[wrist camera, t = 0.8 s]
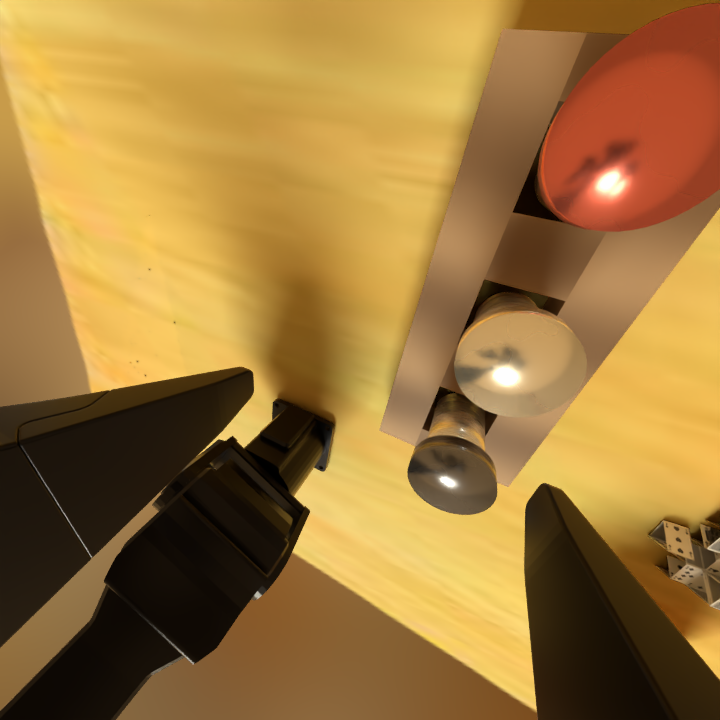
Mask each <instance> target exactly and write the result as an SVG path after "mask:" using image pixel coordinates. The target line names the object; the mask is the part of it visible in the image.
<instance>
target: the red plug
mask: <svg viewBox="0 0 720 720" xmlns="http://www.w3.org/2000/svg"><path fill="white" fill-rule="evenodd" d="M719 189H720V3H712V4H703V5H698V6H693V7H688V8H685V9H682V10H679V11H676V12H673V13H670V14H668V15H665V16H663V17H661V18H659V19H656V20H654V21H652V22H650V23H648V24H647V25H645V26H643V27H641V28H640V29H638V30H636V31H635V32H633V33H632V34H630V35H629V36H627V37H626V38H625V39H623V40H622V41H620V42H619V43H618V44H616V45H615V46H614V47H613V48H612V49H610V50H609V51H608V52H607V53H606V54H604V55H603V56H602V57H601V58H600V59H599V60H598V61H597V62H596V63H595V64H594V65H593V66H592V67H591V68H590V69H589V70H588V72H587V73H586V74H585V75H584V76H583V77H582V79H581V80H580V81H579V82H578V83H577V85H576V86H575V88H574V89H573V90H572V92H571V93H570V94H569V96H568V97H567V99H566V100H565V102H564V104H563V105H562V107H561V108H560V110H559V111H558V113H557V115H556V116H555V118H554V120H553V121H552V123H551V125H550V127H549V130H548V132H547V134H546V136H545V139H544V142H543V145H542V148H541V152H540V157H539V164H538V169H537V172H536V177H535V192H536V195H537V198H538V200H539V202H540V203H541V204H542V205H543V206H544V207H545V208H546V209H548V210H549V211H551V212H552V213H554V214H555V215H556V216H557V217H558V218H559V219H561V220H562V221H564V222H565V223H567V224H570V225H572V226H574V227H578V228H581V229H586V230H594V231H606V232H620V231H630V230H635V229H640V228H645V227H648V226H652V225H655V224H658V223H661V222H664V221H666V220H668V219H671V218H673V217H676V216H678V215H680V214H682V213H683V212H685V211H687V210H689V209H691V208H693V207H694V206H696V205H698V204H699V203H701V202H702V201H704V200H706V199H707V198H708V197H710V196H711V195H712V194H714V193H715V192H716V191H718V190H719Z"/></svg>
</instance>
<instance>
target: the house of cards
mask: <svg viewBox="0 0 720 720" xmlns="http://www.w3.org/2000/svg"><path fill="white" fill-rule="evenodd" d="M706 521H708V520H706ZM660 522H661V521H660ZM708 522H710V523H712V524H714V525H716V526H718V527H720V524H717V523H714V522H711V521H708ZM700 529H701V533H702V538H703V542H702V541H699V540H696V539H693V538H691V536H690V531H689V528H686V527H683V526H680V525H677V524H674V523H671V522H668V521H665V520H663V522H661V524H660V525H659V526H658V527H657V528H656V529H655V530H654V531H653V532H652V533H651V534H649V536H648V537H649V538H651V539H652V540H653V541H655V542H656V543H657V544H659V545H660V546H661V547H663V548H664V549H665V550H667V551H668V552H671V553H672V554H673V555H675V556H676V557H677V558H679V559H680V560H679V559H676V558H674V557H671V556H668V555H667V561H668V567H669V571H668V570H666V569H663V568H660V567H658V566H656V567H657V568H658V569H660V570H661V571H662V572H663V573H664V574H665V575H666V576H668V577H669V578H670V579H672V580H675V581H677V582H680V583H683V584H685V585H686V586H687V587H689V588H690V589H691V590H692V591H693V592H695V593H696V594H697V595H698V596H699V597H700V598H702V599H703V600H704V601H705V602H706V603H708V604H709V606H711V607H713V608H716V609H718V610H720V530H718V529H715V528H712V527H708V526H705V525H702V524H700ZM691 539H692V540H693V541H695V542H697V543H698V544H700V545H701V546H698V545H695V544H692V542H691ZM702 546H703V547H702Z"/></svg>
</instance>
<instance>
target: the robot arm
mask: <svg viewBox="0 0 720 720" xmlns="http://www.w3.org/2000/svg"><path fill="white" fill-rule="evenodd" d="M253 392H254V379H253V372H252V371H251V370H249V369H247V368H244V367H235V368H230V369H224V370H219V371H213V372H208V373H202V374H196V375H191V376H185V377H180V378H174V379H169V380H163V381H157V382H152V383H146V384H141V385H135V386H130V387H124V388H118V389H113V390H111V391H109V390H107V391H101V392H96V393H90V394H85V395H78V396H73V397H67V398H60V399H54V400H46V401H39V402H32V403H25V404H17V405H10V406H3V407H0V647H1V646H3V644H5V643H6V642H7V640H9V639H10V638H11V637H12V636H13V635H14V634H15V633H16V632H17V631H18V630H19V629H20V628H21V627H22V626H23V625H24V624H25V623H26V622H27V621H28V620H29V619H30V618H31V617H32V616H33V615H34V614H35V613H36V612H37V611H38V610H39V609H40V608H42V607H43V606H44V605H45V604H46V603H47V602H48V601H49V600H50V599H51V598H52V597H53V596H54V595H55V594H56V593H57V592H58V591H59V590H60V589H61V588H62V587H63V586H64V585H65V584H66V583H67V582H68V581H69V580H70V579H71V578H72V577H73V576H74V575H75V574H76V573H77V572H78V571H79V570H80V569H81V568H82V567H83V566H84V565H86V564H87V563H88V561H90V559H91V557H93V556H95V555H96V554H97V553H98V552H99V551H100V550H101V549H102V548H103V547H104V546H105V545H106V544H107V543H108V542H109V541H110V540H111V539H112V538H113V537H114V536H115V535H116V534H117V533H118V532H119V531H120V530H121V529H122V528H123V527H124V526H125V525H126V524H127V523H128V522H129V521H130V520H131V519H133V517H135V516H136V515H137V514H138V513H139V512H140V511H141V510H142V509H143V508H144V507H145V506H146V505H147V504H148V503H149V502H150V501H151V500H152V499H153V498H154V497H155V496H156V495H157V494H158V493H159V492H160V491H161V490H162V489H163V488H164V487H165V486H166V488H165V489H164V490H163V491H162V492H161V495H160V496H159V497H158V498H157V500H156V501H155V502H154V503H153V504H152V506H153V507H155V508H156V509H157V510H158V511H159V512H158V513H157V514H156V515H155V516H154V517H153V518H152V519H151V520H149V522H147V523H146V524H145V525H144V526H143V527H142V528H141V529H140V530H139V531H138V532H137V533H136V534H135V535H134V536H133V537H132V538H130V539H129V540H128V541H127V542H126V544H125V545H124V546H123V548H122V550H121V552H120V553H119V554H118V555H117V556H116V558H115V560H114V562H113V563H112V565H111V567H110V569H109V571H108V573H107V575H106V577H105V580H104V583H105V584H106V586H105V589H104V591H103V593H102V596H101V598H100V600H99V603H98V605H97V607H96V609H95V612H94V614H93V616H92V618H91V620H90V621H89V622H88V623H87V624H86V625H85V626H84V627H83V628H82V629H81V630H80V631H79V632H78V633H77V634H76V635H75V636H74V637H73V638H72V639H71V640H70V641H69V642H68V643H67V644H66V645H65V646H64V647H63V648H62V649H61V650H60V651H59V652H58V653H57V654H56V655H55V656H54V657H53V658H52V659H51V660H50V661H49V662H48V663H47V664H46V665H45V666H44V667H43V668H42V669H41V670H40V671H39V672H38V673H37V674H36V675H35V676H34V677H33V678H32V679H31V680H30V681H29V682H28V683H27V684H26V685H25V686H24V687H23V688H22V689H21V690H20V691H19V692H18V693H17V694H16V695H15V696H14V697H13V698H12V699H11V700H10V701H9V702H8V703H7V704H6V705H5V706H4V707H3V708H2V709H1V710H0V720H116V719H117V717H118V716H119V715H120V714H121V712H122V711H123V710H124V709H125V707H126V706H127V705H128V703H129V702H130V701H131V700H132V699H133V697H134V696H135V695H136V694H137V692H138V691H139V690H140V689H141V687H142V686H143V685H144V684H145V683H146V682H147V680H148V679H149V678H150V677H151V676H152V675H153V674H155V673H157V672H159V671H160V670H162V669H164V668H166V667H168V666H170V665H171V664H173V663H175V662H177V661H179V660H181V659H182V658H184V657H185V658H187V660H188V661H190V662H191V663H192V664H195V663H196V662H198V661H199V660H201V659H202V658H204V657H205V656H206V655H208V654H209V653H210V652H212V651H213V650H215V649H216V648H217V646H218V645H219V643H220V642H221V641H222V639H223V638H224V636H225V635H226V633H227V631H228V630H229V629H230V627H231V626H232V624H233V623H234V622H235V620H236V619H237V617H238V615H239V614H240V613H241V612H242V610H243V609H244V608H245V607H246V605H247V604H248V603H249V601H250V600H251V599H252V600H256V599H258V598H259V597H261V596H262V595H263V594H264V593H265V592H266V591H267V590H268V589H269V588H270V586H271V585H272V584H273V583H274V581H275V580H276V579H277V577H278V576H279V574H280V573H281V571H282V569H283V568H284V567H285V565H286V563H287V561H288V559H289V557H290V555H291V553H292V551H293V549H294V546H295V544H296V542H297V540H298V537H299V535H300V533H301V531H302V529H303V526H304V524H305V522H306V520H307V517H308V515H309V513H310V510H309V509H308V508H307V507H306V506H305V507H304V506H303V505H302V504H301V503H300V502H299V501H298V500H297V499H296V498H295V497H294V495H295V494H296V492H297V491H298V490H299V488H300V487H301V485H302V484H303V482H304V481H305V480H306V478H307V477H308V475H309V474H310V473H311V471H312V470H313V468H316V469H318V470H320V471H325V470H326V468H327V466H328V460H329V455H330V450H331V444H332V439H333V434H334V425H333V423H331V422H329V421H327V420H325V419H323V418H320V417H318V416H316V415H314V414H312V413H309V412H307V411H305V410H303V409H301V408H298V407H296V406H294V405H292V404H290V403H287V402H285V401H283V400H281V399H276V400H275V401H274V402H273V413H272V421H271V422H270V423H269V424H268V425H267V426H266V427H265V428H264V429H263V430H262V431H261V432H260V434H258V435H257V436H256V437H255V438H254V439H253V440H252V441H251V442H250V443H249V444H248V445H247V446H246V447H245V448H243V447H242V446H241V445H240V444H239V443H238V442H237V441H238V440H237V439H236V438H234V437H233V436H232V437H230V438H229V439H228V440H227V441H223V440H217V441H216V442H215V443H214V444H212V445H211V446H210V447H209V448H208V449H206V450H205V451H204V452H202V453H201V454H200V455H198V454H199V453H200V452H201V451H202V450H203V449H205V448H206V447H207V446H208V445H209V444H210V443H211V442H212V441H213V440H214V439H215V438H216V437H217V436H218V435H219V434H220V433H221V432H222V431H223V430H224V429H225V427H226V426H227V425H228V424H229V423H230V422H231V420H232V419H233V418H234V417H235V416H236V415H237V413H238V412H239V411H240V410H241V409H242V407H243V406H244V405H245V404H246V403H247V402H248V400H249V399H250V398H251V397H252V395H253ZM197 455H198V456H197ZM196 456H197V457H196ZM524 573H525V587H526V598H527V609H528V619H529V630H530V641H531V652H532V663H533V673H534V684H535V695H536V706H537V717H538V720H720V680H719V679H718V677H717V676H716V675H715V674H714V672H713V671H712V670H711V669H710V668H709V666H708V665H707V664H706V663H705V662H704V660H703V659H702V658H701V657H700V656H699V654H698V653H697V652H696V651H695V650H694V648H693V647H692V646H691V645H690V644H689V642H688V641H687V640H686V639H685V637H684V636H683V635H682V634H681V633H680V631H679V630H678V629H677V628H676V627H675V625H674V624H673V623H672V622H671V621H670V619H669V618H668V617H667V616H666V615H665V613H664V612H663V611H662V610H661V608H660V607H659V606H658V605H657V604H656V602H655V601H654V600H653V599H652V598H651V596H650V595H649V594H648V593H647V592H646V590H645V589H644V588H643V587H642V586H641V584H640V583H639V582H638V581H637V580H636V578H635V577H634V576H633V575H632V573H631V572H630V571H629V570H628V569H627V567H626V566H625V565H624V564H623V563H622V561H621V560H620V559H619V558H618V557H617V555H616V554H615V553H614V552H613V551H612V549H611V548H610V547H609V546H608V544H607V543H606V542H605V541H604V540H603V538H602V537H601V536H600V535H599V534H598V532H597V531H596V530H595V529H594V528H593V526H592V525H591V524H590V523H589V522H588V520H587V519H586V518H585V517H584V515H583V514H582V513H581V512H580V511H579V509H578V508H577V507H576V506H575V505H574V503H573V502H572V501H571V500H570V499H569V497H568V496H567V495H566V494H565V493H564V492H563V491H562V490H561V489H559V488H557V487H554V486H552V485H549V484H546V483H543V484H541V485H540V486H539V487H538V488H537V490H536V491H535V493H534V494H533V495H532V497H531V498H530V499H529V501H528V503H527V505H526V510H525V553H524Z"/></svg>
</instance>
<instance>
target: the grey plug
mask: <svg viewBox="0 0 720 720" xmlns="http://www.w3.org/2000/svg"><path fill="white" fill-rule="evenodd" d="M408 479H409V482H410V484H411V486H412V488H413V489H414V491H415V492H416V493H417V494H418V495H419V496H420V497H421V498H422V499H423V500H424V501H426V502H427V503H429V504H430V505H432V506H434V507H436V508H438V509H440V510H443V511H446V512H449V513H453V514H461V515H470V514H476V513H480V512H483V511H485V510H487V509H488V508H489V507H491V506H492V504H493V503H494V502H495V500H496V497H497V474H496V468H495V465H494V463H493V461H492V459H491V458H490V456H489V455H488V454H487V453H486V452H485V411H484V409H482V408H480V407H479V406H477V405H476V404H474V403H473V402H472V401H471V400H469V399H468V398H467V397H466V396H464V395H462V394H459V393H453V394H448V395H446V396H444V397H442V398H441V399H440V400H439V401H438V403H437V405H436V408H435V412H434V416H433V419H432V423H431V427H430V430H429V434H428V437H427V439H424V440H423V441H421V442H420V443H419V444H418V445H417V446H416V447H415V449H414V451H413V454H412V457H411V461H410V464H409V467H408Z"/></svg>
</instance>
